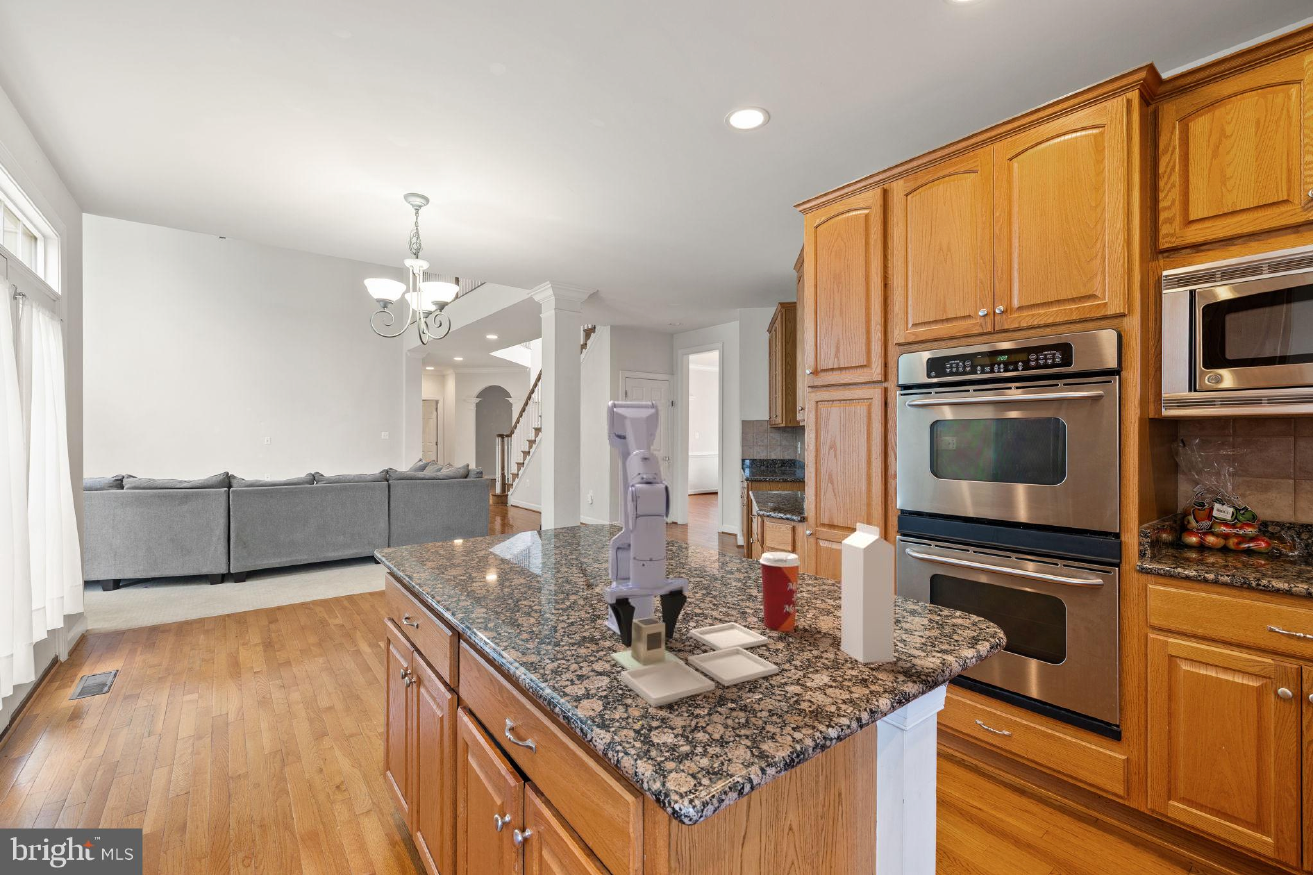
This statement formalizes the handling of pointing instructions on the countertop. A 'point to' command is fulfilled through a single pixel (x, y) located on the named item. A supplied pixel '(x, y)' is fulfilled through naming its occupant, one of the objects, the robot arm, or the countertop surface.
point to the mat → (631, 663)
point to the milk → (867, 596)
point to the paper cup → (779, 589)
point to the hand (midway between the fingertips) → (647, 640)
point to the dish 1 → (666, 682)
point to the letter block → (648, 640)
